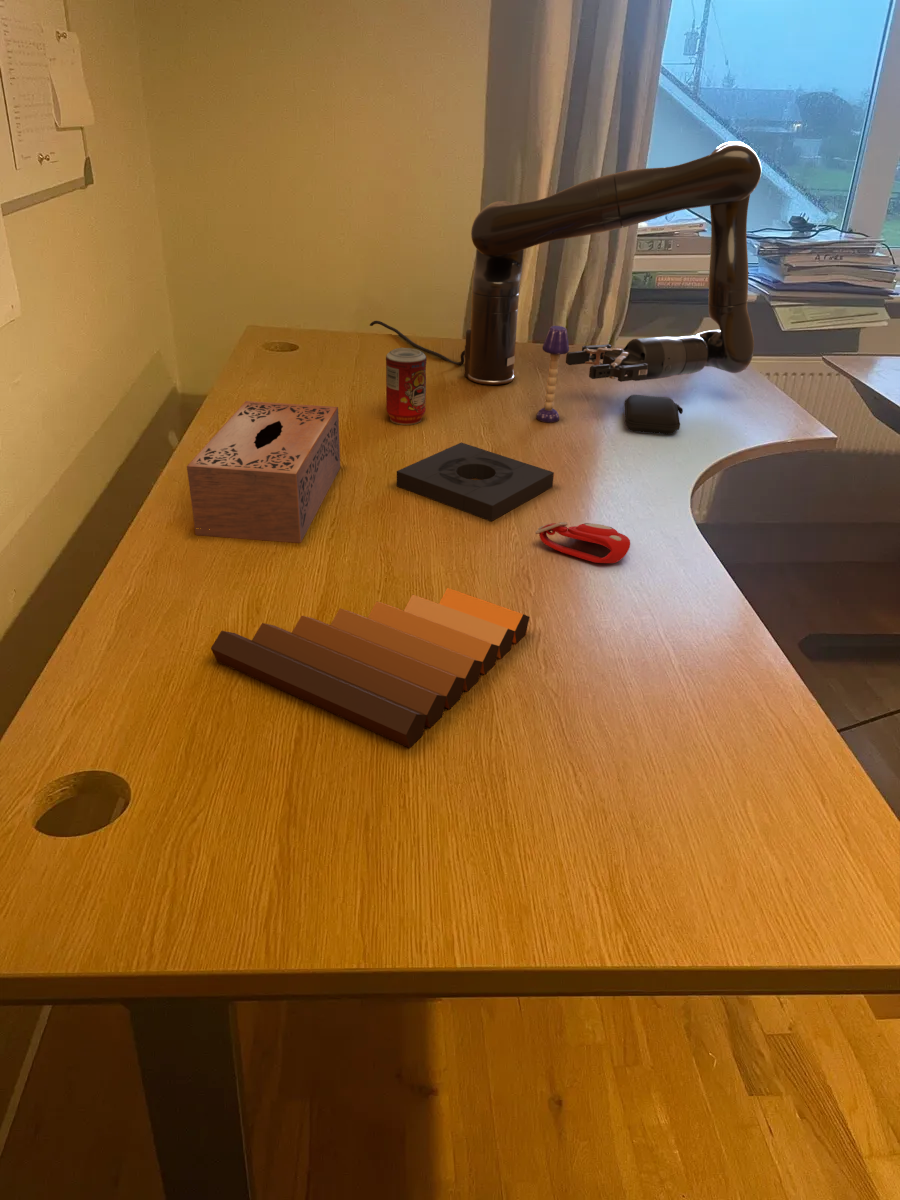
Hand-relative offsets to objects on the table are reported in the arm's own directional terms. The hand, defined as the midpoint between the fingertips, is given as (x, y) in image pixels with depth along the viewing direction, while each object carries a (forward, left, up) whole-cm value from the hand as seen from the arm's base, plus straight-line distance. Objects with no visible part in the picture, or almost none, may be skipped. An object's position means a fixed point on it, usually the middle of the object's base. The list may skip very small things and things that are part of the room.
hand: (578, 365), depth 160 cm
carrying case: (+13, +7, -10) cm, 18 cm away
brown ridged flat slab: (+24, -80, -10) cm, 84 cm away
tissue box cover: (-14, -61, -10) cm, 63 cm away
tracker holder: (+29, -44, -10) cm, 53 cm away
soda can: (-21, -23, -10) cm, 33 cm away
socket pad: (+6, -38, -10) cm, 39 cm away
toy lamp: (-2, -5, -10) cm, 11 cm away
